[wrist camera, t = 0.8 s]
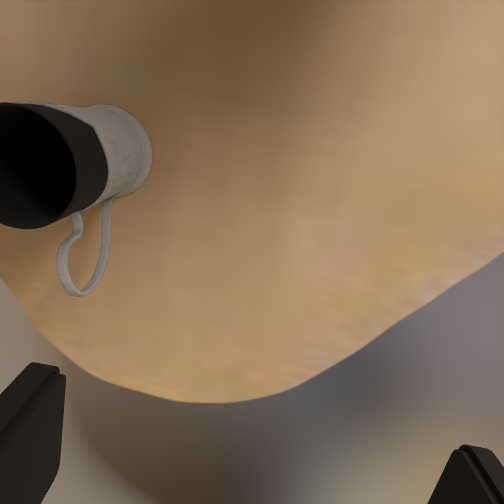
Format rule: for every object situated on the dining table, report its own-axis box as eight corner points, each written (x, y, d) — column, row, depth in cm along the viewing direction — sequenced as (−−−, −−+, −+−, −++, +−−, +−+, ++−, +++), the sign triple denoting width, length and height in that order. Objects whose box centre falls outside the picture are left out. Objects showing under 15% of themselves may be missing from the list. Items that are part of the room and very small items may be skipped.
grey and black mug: (140, 96, 36) (64, 78, 22) (173, 242, 41) (127, 306, 26) (49, 112, 37) (-82, 104, 23) (91, 254, 41) (3, 323, 27)
